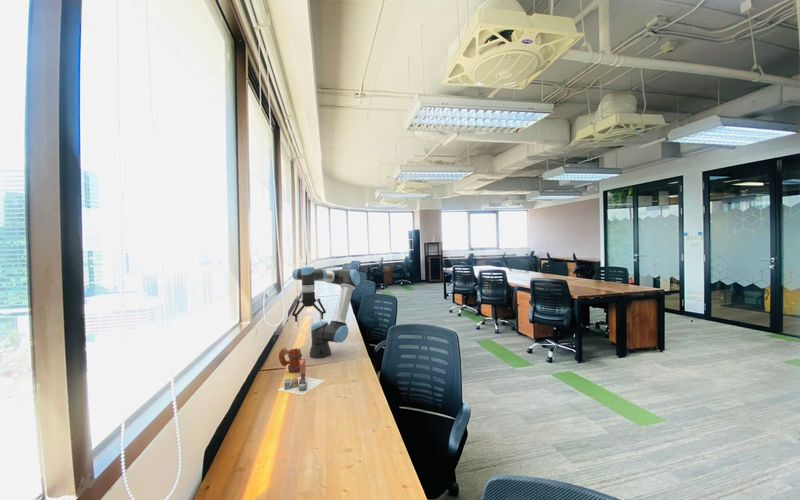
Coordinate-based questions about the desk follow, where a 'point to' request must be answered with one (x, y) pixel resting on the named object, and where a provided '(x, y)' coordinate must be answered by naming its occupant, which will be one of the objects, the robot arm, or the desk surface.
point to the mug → (291, 359)
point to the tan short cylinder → (294, 383)
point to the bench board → (310, 385)
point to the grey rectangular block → (287, 384)
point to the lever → (302, 375)
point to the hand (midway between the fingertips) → (309, 325)
